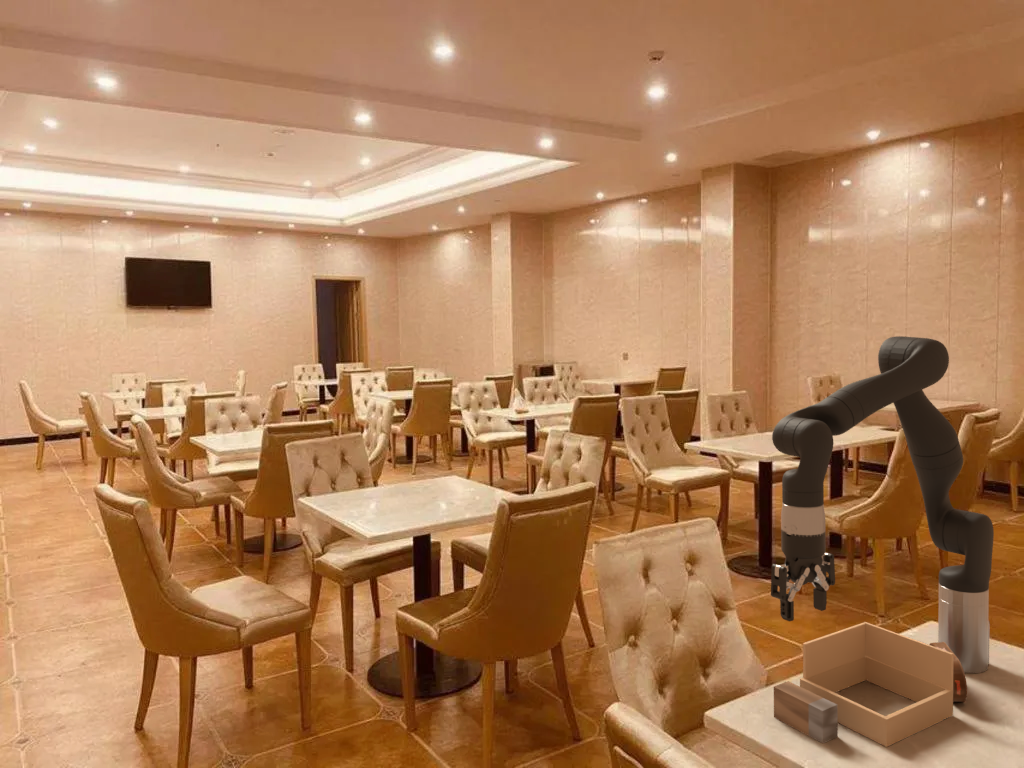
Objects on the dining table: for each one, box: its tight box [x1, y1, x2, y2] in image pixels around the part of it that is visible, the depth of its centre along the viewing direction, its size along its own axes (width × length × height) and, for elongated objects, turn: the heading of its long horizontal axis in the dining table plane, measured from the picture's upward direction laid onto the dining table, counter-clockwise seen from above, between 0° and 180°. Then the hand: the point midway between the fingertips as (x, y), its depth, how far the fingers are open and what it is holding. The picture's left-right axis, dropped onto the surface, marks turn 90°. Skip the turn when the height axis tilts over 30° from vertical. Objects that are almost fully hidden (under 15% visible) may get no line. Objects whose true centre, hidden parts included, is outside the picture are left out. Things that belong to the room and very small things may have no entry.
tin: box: [928, 641, 968, 703], centre depth 155 cm, size 15×3×8 cm, turn 168°
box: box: [773, 680, 839, 744], centre depth 144 cm, size 4×11×6 cm, turn 30°
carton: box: [799, 621, 954, 748], centre depth 149 cm, size 20×19×12 cm
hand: (803, 614), depth 143 cm, fingers open, 8 cm apart
